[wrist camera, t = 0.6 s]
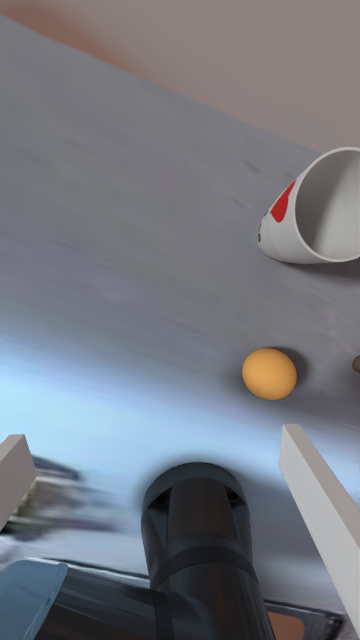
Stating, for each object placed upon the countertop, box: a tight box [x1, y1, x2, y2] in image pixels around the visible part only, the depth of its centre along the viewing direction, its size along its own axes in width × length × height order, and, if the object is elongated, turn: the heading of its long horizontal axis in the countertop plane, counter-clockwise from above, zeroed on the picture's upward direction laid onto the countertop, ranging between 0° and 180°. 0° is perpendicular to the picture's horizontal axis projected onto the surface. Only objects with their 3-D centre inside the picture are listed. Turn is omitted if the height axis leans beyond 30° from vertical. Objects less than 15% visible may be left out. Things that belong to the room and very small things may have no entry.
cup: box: [257, 147, 360, 264], centre depth 21 cm, size 8×8×10 cm
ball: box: [242, 348, 297, 400], centre depth 25 cm, size 6×6×6 cm
